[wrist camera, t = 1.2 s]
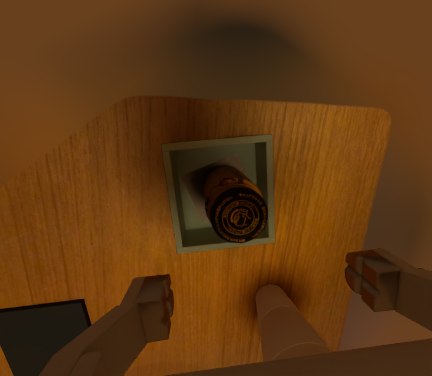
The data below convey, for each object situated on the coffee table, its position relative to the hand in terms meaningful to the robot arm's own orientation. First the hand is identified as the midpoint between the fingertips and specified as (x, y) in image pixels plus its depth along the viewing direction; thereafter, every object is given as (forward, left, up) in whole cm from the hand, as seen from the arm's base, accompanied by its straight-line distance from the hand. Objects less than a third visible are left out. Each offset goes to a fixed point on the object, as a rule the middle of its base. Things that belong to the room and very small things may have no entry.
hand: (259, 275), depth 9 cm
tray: (+1, 0, -21) cm, 21 cm away
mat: (+26, -30, -21) cm, 45 cm away
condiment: (+1, 0, -21) cm, 21 cm away
